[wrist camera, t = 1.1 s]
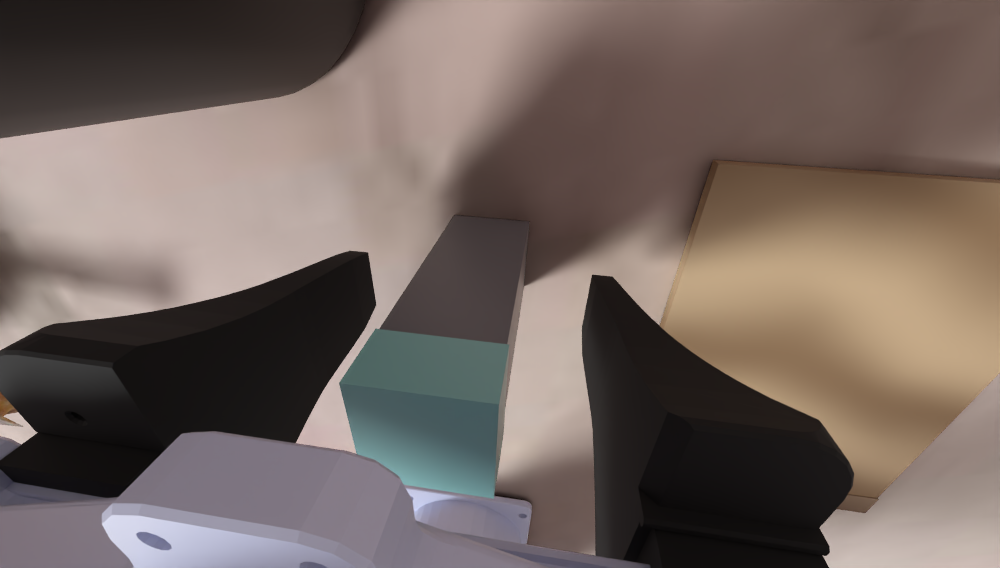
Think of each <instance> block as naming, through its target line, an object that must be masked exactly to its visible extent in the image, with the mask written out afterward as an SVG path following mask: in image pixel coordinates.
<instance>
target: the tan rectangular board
mask: <svg viewBox="0 0 1000 568" xmlns="http://www.w3.org/2000/svg"><path fill="white" fill-rule="evenodd" d="M660 327H661V328H662V329H664V330H665V331H666V332H667V333H668V334H669V335H671V336H672V337H673V338H674V339H675V340H677V341H678V342H679V343H681V344H682V345H683V346H685V347H686V348H687V349H689V350H690V351H691V352H693V353H694V354H696V355H697V356H698V357H700V358H701V359H703V360H704V361H706V362H708V363H709V364H711V365H712V366H714V367H715V368H717V369H719V370H720V371H722V372H723V373H725V374H727V375H729V376H730V377H732V378H734V379H736V380H737V381H739V382H741V383H743V384H745V385H746V386H748V387H750V388H752V389H754V390H756V391H758V392H760V393H762V394H764V395H766V396H768V397H770V398H772V399H774V400H776V401H778V402H781V403H783V404H785V405H787V406H789V407H792V408H794V409H796V410H798V411H800V412H803V413H805V414H807V415H809V416H812V417H814V418H816V419H818V420H820V422H821V423H822V424H823V426H824V427H825V428H826V430H827V431H828V433H829V434H830V435H831V437H832V438H833V440H834V441H835V442H836V444H837V445H838V447H839V448H840V449H841V451H842V452H843V454H844V455H845V456H846V458H847V459H848V461H849V462H850V465H851V467H852V469H853V472H854V480H853V486H852V488H851V490H850V492H849V493H848V495H847V496H846V498H845V500H844V501H843V502H842V503H841V504H840V505H839V507H838V508H837V509H841V510H848V511H855V512H861V513H866V512H867V511H868V510H869V509H870V508H871V507H872V506H873V505H874V504H875V503H876V502H877V501H878V497H879V496H880V495H881V494H882V493H883V492H884V491H885V490H886V489H887V488H888V487H889V485H890V484H891V483H892V482H893V481H894V480H895V479H896V478H897V477H898V476H899V475H900V474H901V473H902V472H903V471H904V470H905V469H906V468H907V467H908V466H909V465H910V464H911V463H912V462H913V461H914V460H915V459H916V458H917V457H918V456H919V455H920V454H921V453H922V452H923V451H924V450H925V449H926V448H927V447H928V446H929V445H930V444H931V443H932V442H933V441H934V439H935V438H936V437H937V436H938V435H939V434H940V433H941V432H942V431H943V430H944V429H945V428H946V427H947V426H948V425H949V424H950V423H951V422H952V421H953V420H954V419H955V418H956V417H957V416H958V415H959V414H960V413H961V412H962V411H963V410H964V409H965V408H966V407H967V406H968V405H969V404H970V403H971V402H972V401H973V400H974V399H975V398H976V397H977V396H978V395H979V394H980V392H981V391H982V390H983V389H984V388H985V387H986V386H987V385H988V384H989V383H990V382H991V381H992V380H993V379H994V378H995V377H996V376H997V375H998V374H999V373H1000V180H996V179H982V178H968V177H953V176H939V175H924V174H910V173H895V172H881V171H866V170H852V169H837V168H823V167H808V166H794V165H780V164H765V163H751V162H736V161H722V160H713V162H712V165H711V168H710V171H709V174H708V177H707V180H706V183H705V186H704V190H703V193H702V196H701V199H700V202H699V205H698V208H697V211H696V214H695V218H694V221H693V224H692V227H691V230H690V233H689V236H688V239H687V242H686V246H685V249H684V252H683V255H682V258H681V261H680V264H679V267H678V270H677V274H676V277H675V280H674V283H673V286H672V289H671V292H670V295H669V298H668V301H667V305H666V308H665V311H664V314H663V317H662V320H661V323H660Z"/></svg>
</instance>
